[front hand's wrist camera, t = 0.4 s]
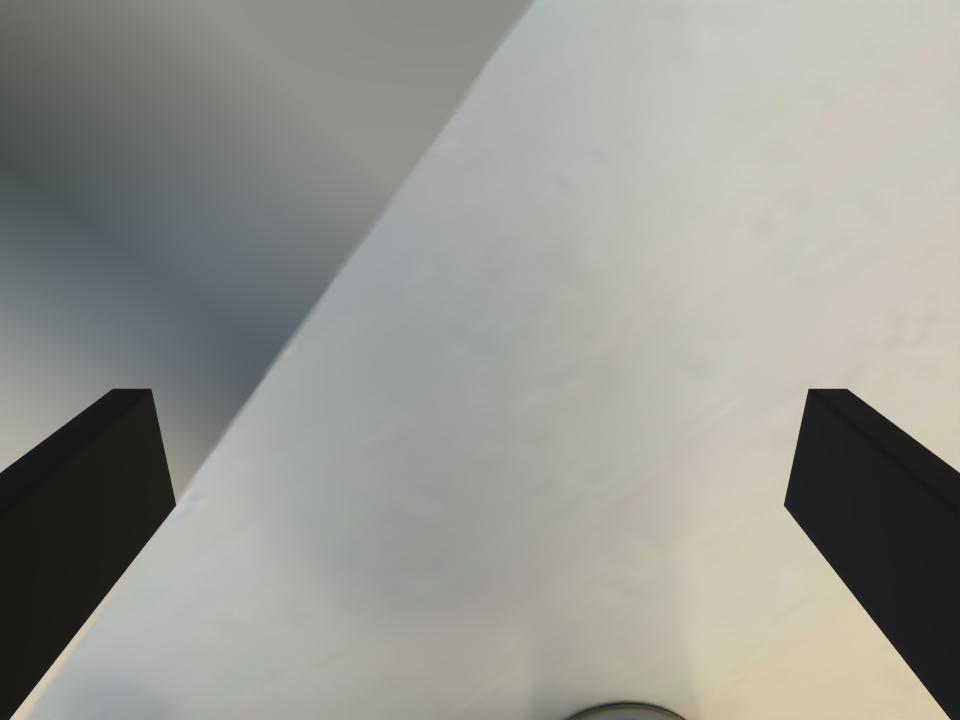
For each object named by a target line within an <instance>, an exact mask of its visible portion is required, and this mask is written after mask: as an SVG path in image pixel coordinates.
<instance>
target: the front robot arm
mask: <svg viewBox="0 0 960 720" xmlns="http://www.w3.org/2000/svg"><path fill="white" fill-rule="evenodd" d="M175 506H176V502H175V497H174V493H173V488H172V483H171V479H170V474H169V470H168V465H167V460H166V455H165V451H164V446H163V441H162V436H161V432H160V427H159V423H158V418H157V413H156V408H155V404H154V399H153V394H152V390H151V389H112V390H111V391H109V392H108V393H107V394H105V395H104V396H103V397H101V398H100V399H99V400H97V401H96V402H95V403H93V404H92V405H91V406H89V407H88V408H87V409H85V410H84V411H83V412H81V413H80V414H79V415H77V416H76V417H75V418H73V419H72V420H71V421H69V422H68V423H67V424H65V425H64V426H62V427H61V428H60V429H58V430H57V431H56V432H54V433H53V434H52V435H51V436H49V437H48V438H46V439H45V440H44V441H42V442H41V443H40V444H38V445H37V446H36V447H34V448H33V449H32V450H30V451H29V452H28V453H26V454H25V455H24V456H22V457H21V458H20V459H18V460H17V461H16V462H14V463H13V464H12V465H10V466H9V467H8V468H6V469H5V470H4V471H2V472H1V473H0V720H10V718H11V717H12V716H13V714H14V713H15V712H16V710H17V709H18V708H19V707H20V705H21V704H22V703H23V702H24V700H25V699H26V698H27V696H28V695H29V694H30V693H31V691H32V690H33V689H34V687H35V686H36V685H37V683H38V682H39V681H40V680H41V678H42V677H43V676H44V674H45V673H46V672H47V671H48V669H49V668H50V667H51V666H52V664H53V663H54V662H55V660H56V659H57V658H58V657H59V655H60V654H61V653H62V651H63V650H64V649H65V648H66V646H67V645H68V644H69V642H70V641H71V640H72V639H73V637H74V636H75V635H76V633H77V632H78V631H79V630H80V628H81V627H82V626H83V624H84V623H85V622H86V621H87V619H88V618H89V617H90V615H91V614H92V613H93V612H94V610H95V609H96V608H97V606H98V605H99V604H100V603H101V601H102V600H103V599H104V597H105V596H106V595H107V594H108V592H109V591H110V590H111V588H112V587H113V586H114V585H115V583H116V582H117V581H118V579H119V578H120V577H121V576H122V574H123V573H124V572H125V570H126V569H127V568H128V567H129V565H130V564H131V563H132V561H133V560H134V559H135V558H136V556H137V555H138V554H139V552H140V551H141V550H142V549H143V547H144V546H145V545H146V544H147V542H148V541H149V540H150V538H151V537H152V536H153V535H154V533H155V532H156V531H157V529H158V528H159V527H160V526H161V524H162V523H163V522H164V520H165V519H166V518H167V517H168V515H169V514H170V513H171V511H172V510H173V509H174V508H175ZM784 506H785V508H786V509H787V510H788V511H789V513H790V514H791V515H792V517H793V518H794V519H795V520H796V522H797V523H798V524H799V526H800V527H801V528H802V529H803V531H804V532H805V533H806V535H807V536H808V537H809V538H810V540H811V541H812V542H813V544H814V545H815V546H816V547H817V549H818V550H819V551H820V553H821V554H822V555H823V556H824V558H825V559H826V560H827V561H828V563H829V564H830V565H831V567H832V568H833V569H834V570H835V572H836V573H837V574H838V576H839V577H840V578H841V579H842V581H843V582H844V583H845V585H846V586H847V587H848V588H849V590H850V591H851V592H852V594H853V595H854V596H855V597H856V599H857V600H858V601H859V603H860V604H861V605H862V606H863V608H864V609H865V610H866V612H867V613H868V614H869V615H870V617H871V618H872V619H873V621H874V622H875V623H876V624H877V626H878V627H879V628H880V630H881V631H882V632H883V633H884V635H885V636H886V637H887V639H888V640H889V641H890V642H891V644H892V645H893V646H894V648H895V649H896V650H897V651H898V653H899V654H900V655H901V657H902V658H903V659H904V660H905V662H906V663H907V664H908V666H909V667H910V668H911V669H912V671H913V672H914V673H915V675H916V676H917V677H918V678H919V680H920V681H921V682H922V684H923V685H924V686H925V687H926V689H927V690H928V691H929V693H930V694H931V695H932V696H933V698H934V699H935V700H936V702H937V703H938V704H939V705H940V707H941V708H942V709H943V711H944V712H945V713H946V714H947V716H948V717H949V718H950V720H960V473H959V472H958V471H956V470H955V469H954V468H952V467H951V466H950V465H948V464H947V463H946V462H944V461H943V460H942V459H940V458H939V457H938V456H936V455H935V454H934V453H932V452H931V451H930V450H928V449H927V448H926V447H924V446H923V445H922V444H920V443H919V442H918V441H916V440H915V439H914V438H912V437H911V436H910V435H908V434H907V433H906V432H904V431H903V430H902V429H900V428H899V427H897V426H896V425H895V424H893V423H892V422H891V421H889V420H888V419H887V418H885V417H884V416H883V415H881V414H880V413H879V412H877V411H876V410H875V409H873V408H872V407H871V406H869V405H868V404H867V403H865V402H864V401H863V400H861V399H860V398H859V397H857V396H856V395H855V394H853V393H852V392H851V391H849V390H848V389H809V390H808V394H807V399H806V404H805V408H804V413H803V418H802V422H801V427H800V432H799V436H798V441H797V446H796V451H795V455H794V460H793V465H792V469H791V474H790V479H789V483H788V488H787V493H786V497H785V502H784ZM568 720H683V719H682V718H680V717H678V716H677V715H675V714H673V713H670V712H668V711H665V710H663V709H659V708H656V707H651V706H646V705H637V704H619V705H610V706H603V707H599V708H595V709H592V710H588V711H586V712H583V713H580V714H578V715H576V716H574V717H572V718H570V719H568Z"/></svg>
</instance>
